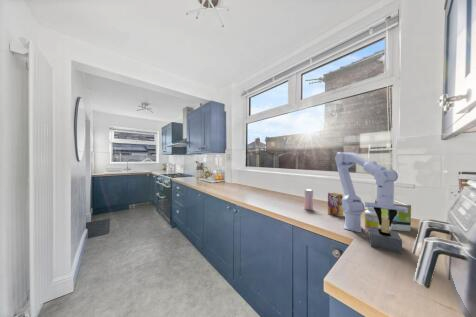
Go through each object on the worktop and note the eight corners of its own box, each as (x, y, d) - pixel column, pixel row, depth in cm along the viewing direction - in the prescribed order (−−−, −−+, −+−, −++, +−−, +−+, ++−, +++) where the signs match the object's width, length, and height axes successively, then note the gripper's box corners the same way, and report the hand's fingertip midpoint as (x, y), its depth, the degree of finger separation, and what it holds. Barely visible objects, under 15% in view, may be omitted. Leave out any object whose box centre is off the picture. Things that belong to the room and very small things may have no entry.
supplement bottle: (369, 226, 97) (369, 204, 97) (382, 231, 91) (383, 207, 91) (361, 227, 95) (362, 205, 95) (374, 233, 89) (375, 209, 89)
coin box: (369, 238, 83) (369, 226, 83) (396, 244, 78) (396, 231, 77) (371, 246, 75) (371, 233, 75) (401, 254, 69) (402, 240, 69)
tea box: (411, 231, 91) (412, 205, 90) (390, 230, 93) (390, 203, 92) (391, 221, 105) (392, 198, 105) (373, 220, 107) (374, 197, 107)
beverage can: (305, 207, 132) (306, 188, 132) (313, 209, 129) (314, 189, 128) (303, 209, 128) (303, 189, 128) (311, 210, 124) (311, 191, 124)
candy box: (343, 215, 115) (343, 193, 115) (341, 217, 112) (342, 194, 111) (329, 212, 121) (329, 191, 121) (327, 213, 118) (327, 192, 118)
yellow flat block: (380, 227, 79) (380, 215, 79) (387, 229, 77) (387, 216, 77) (381, 231, 75) (381, 218, 75) (389, 233, 73) (389, 219, 73)
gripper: (365, 195, 77) (365, 224, 77) (410, 199, 68) (409, 232, 69) (364, 192, 83) (364, 219, 83) (405, 196, 74) (404, 226, 74)
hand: (384, 225), depth 76 cm, fingers closed on yellow flat block, 2 cm apart
